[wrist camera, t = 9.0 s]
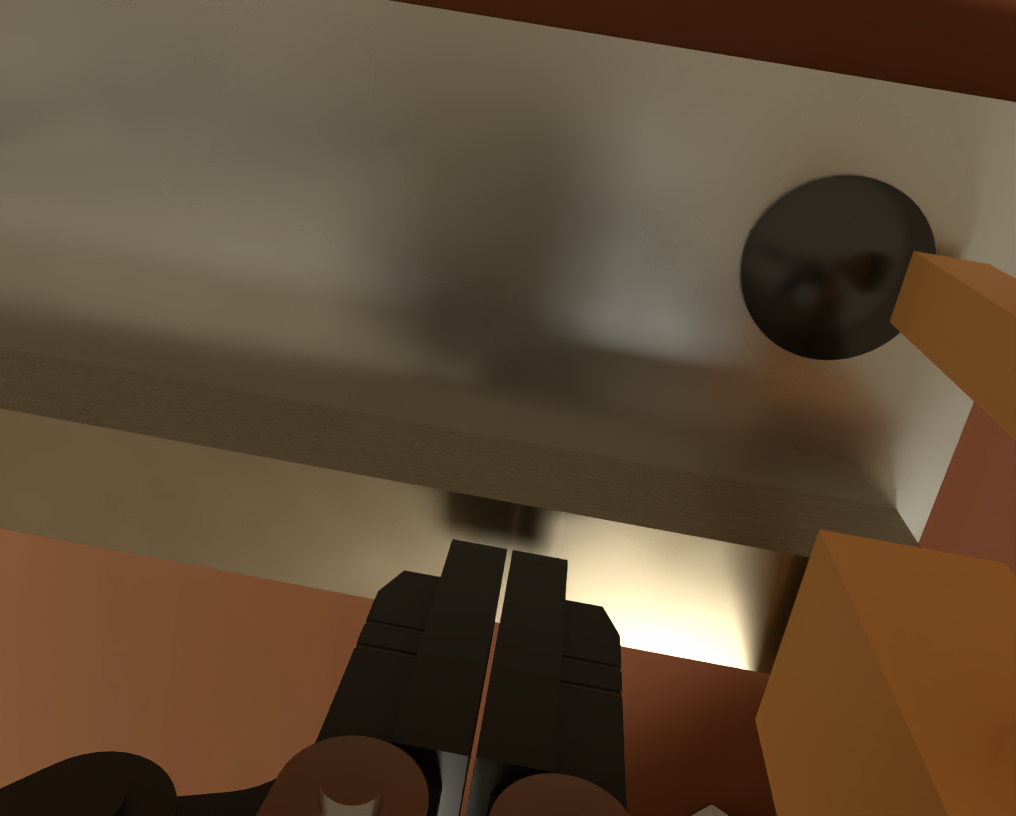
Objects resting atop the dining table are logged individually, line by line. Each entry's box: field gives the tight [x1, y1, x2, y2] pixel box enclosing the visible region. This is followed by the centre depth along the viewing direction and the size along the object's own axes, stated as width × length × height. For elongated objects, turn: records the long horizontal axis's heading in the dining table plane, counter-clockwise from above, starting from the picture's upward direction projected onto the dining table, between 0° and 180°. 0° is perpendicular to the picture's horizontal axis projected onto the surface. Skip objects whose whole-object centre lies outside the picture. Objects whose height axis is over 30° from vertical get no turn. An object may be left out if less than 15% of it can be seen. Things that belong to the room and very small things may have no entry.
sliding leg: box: [755, 251, 1016, 816], centre depth 10 cm, size 2×7×7 cm, turn 172°
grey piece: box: [0, 0, 1016, 674], centre depth 12 cm, size 19×9×5 cm, turn 81°
